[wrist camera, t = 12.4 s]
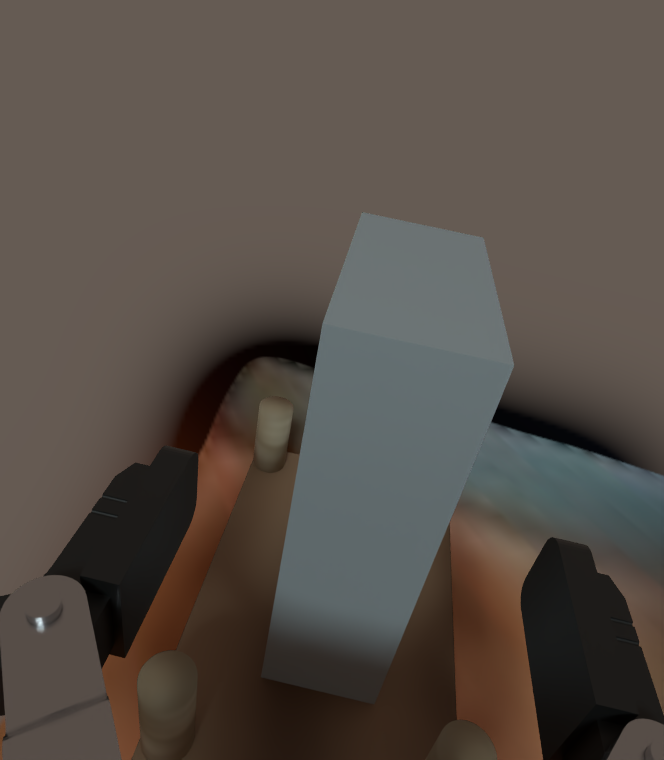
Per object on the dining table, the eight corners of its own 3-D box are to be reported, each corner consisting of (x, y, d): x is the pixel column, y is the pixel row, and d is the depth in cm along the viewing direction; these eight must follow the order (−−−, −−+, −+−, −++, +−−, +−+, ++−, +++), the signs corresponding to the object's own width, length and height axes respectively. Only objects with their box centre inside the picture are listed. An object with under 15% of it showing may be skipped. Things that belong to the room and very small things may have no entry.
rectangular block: (388, 527, 26) (483, 237, 18) (374, 704, 19) (514, 365, 11) (304, 508, 26) (362, 212, 18) (261, 677, 19) (322, 323, 12)
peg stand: (437, 515, 30) (468, 436, 27) (442, 872, 17) (501, 801, 14) (255, 473, 30) (265, 391, 27) (131, 794, 18) (123, 708, 15)
